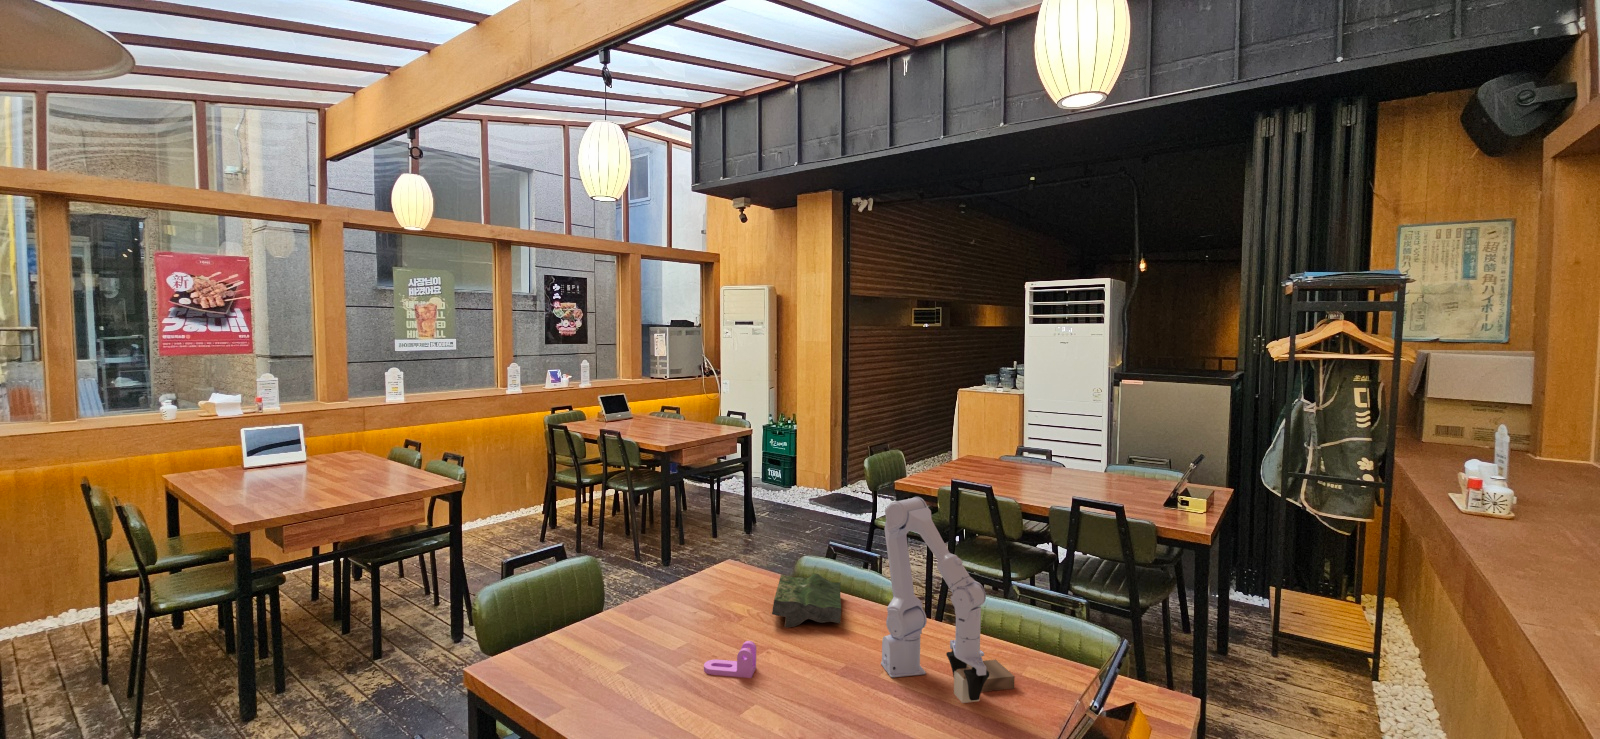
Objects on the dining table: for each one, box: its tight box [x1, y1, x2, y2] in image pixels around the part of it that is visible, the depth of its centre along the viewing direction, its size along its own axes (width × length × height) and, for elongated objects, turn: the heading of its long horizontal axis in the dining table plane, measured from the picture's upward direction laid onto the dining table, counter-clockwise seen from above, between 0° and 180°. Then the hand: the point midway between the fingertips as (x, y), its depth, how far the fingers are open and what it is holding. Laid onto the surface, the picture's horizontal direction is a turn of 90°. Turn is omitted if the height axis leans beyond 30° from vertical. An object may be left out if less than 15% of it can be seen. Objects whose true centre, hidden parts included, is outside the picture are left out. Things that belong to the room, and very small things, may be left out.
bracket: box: [703, 640, 757, 679], centre depth 167 cm, size 13×6×7 cm, turn 82°
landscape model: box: [771, 573, 842, 628], centre depth 207 cm, size 26×20×10 cm
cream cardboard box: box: [953, 668, 981, 704], centre depth 156 cm, size 4×4×6 cm
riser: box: [966, 659, 1016, 693], centre depth 164 cm, size 9×9×3 cm
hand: (966, 691), depth 156 cm, fingers open, 7 cm apart
